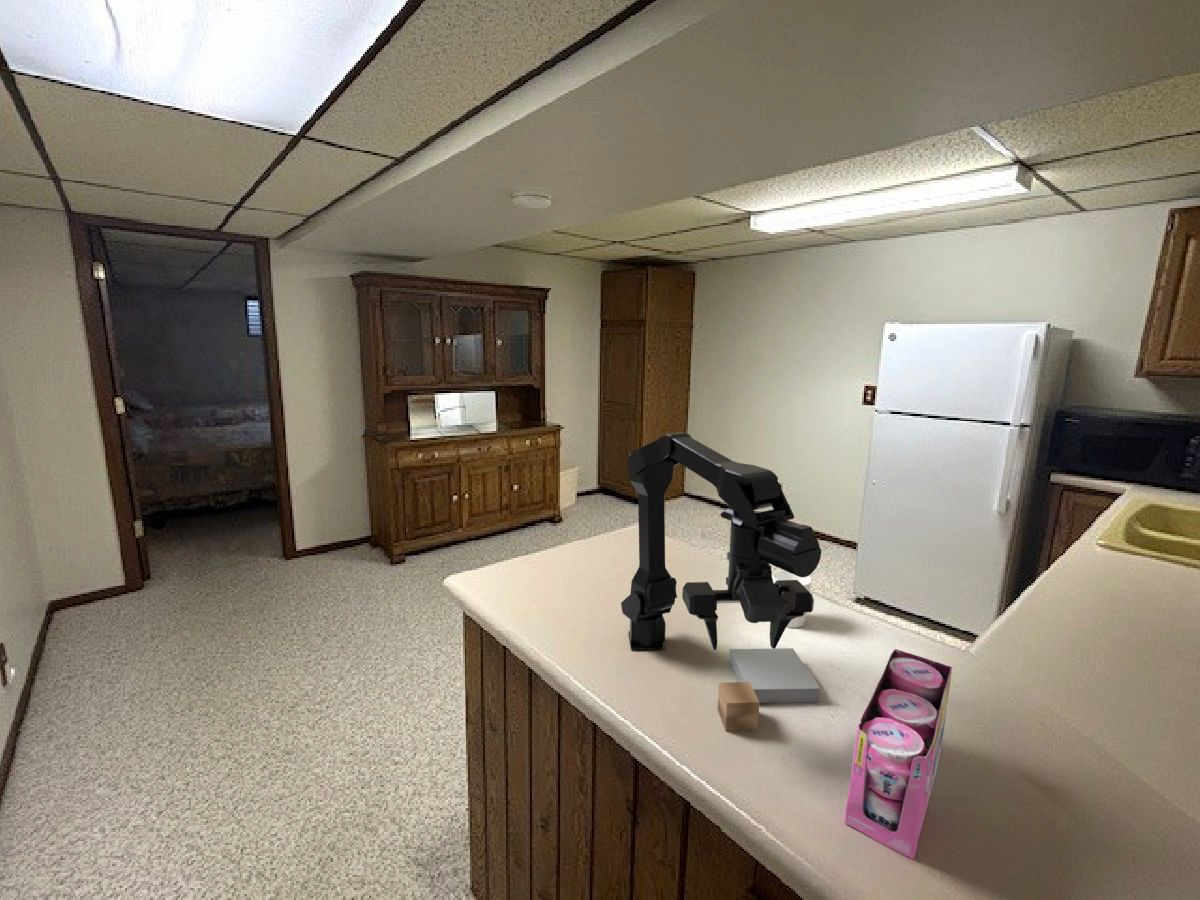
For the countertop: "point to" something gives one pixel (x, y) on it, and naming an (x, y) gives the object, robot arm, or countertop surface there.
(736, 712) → the walnut cube
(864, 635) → the countertop surface
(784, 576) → the white cup
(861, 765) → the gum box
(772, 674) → the slate tile
